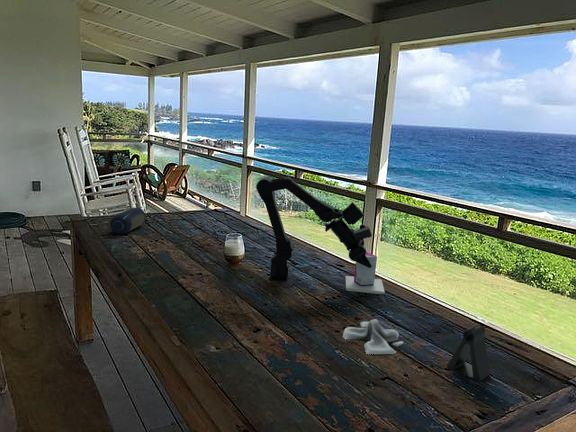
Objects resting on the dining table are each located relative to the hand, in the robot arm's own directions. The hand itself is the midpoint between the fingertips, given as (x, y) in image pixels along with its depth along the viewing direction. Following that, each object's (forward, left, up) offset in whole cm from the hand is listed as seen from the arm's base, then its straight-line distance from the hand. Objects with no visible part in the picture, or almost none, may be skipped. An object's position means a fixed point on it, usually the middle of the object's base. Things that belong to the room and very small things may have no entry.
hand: (370, 263), depth 178 cm
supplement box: (-2, 0, -8) cm, 8 cm away
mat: (-1, 0, -9) cm, 9 cm away
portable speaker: (-116, +54, -9) cm, 128 cm away
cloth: (-1, -43, -10) cm, 44 cm away
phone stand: (+21, -58, -9) cm, 62 cm away
